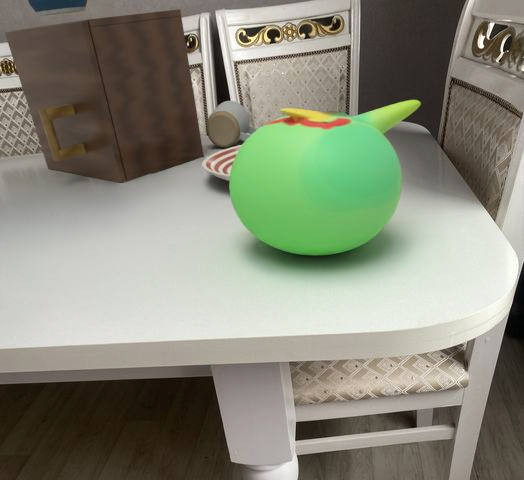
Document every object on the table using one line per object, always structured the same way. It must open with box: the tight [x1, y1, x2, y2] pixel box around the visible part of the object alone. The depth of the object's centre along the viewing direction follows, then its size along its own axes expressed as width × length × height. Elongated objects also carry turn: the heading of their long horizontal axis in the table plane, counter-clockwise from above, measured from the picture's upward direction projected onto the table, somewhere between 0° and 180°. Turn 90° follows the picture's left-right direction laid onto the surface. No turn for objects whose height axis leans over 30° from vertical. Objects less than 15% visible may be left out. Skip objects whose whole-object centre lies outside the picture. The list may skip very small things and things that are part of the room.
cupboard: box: [11, 8, 205, 182], centre depth 98 cm, size 18×26×24 cm
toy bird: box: [228, 99, 422, 256], centre depth 54 cm, size 18×17×15 cm
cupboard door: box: [4, 20, 127, 184], centre depth 90 cm, size 7×26×24 cm, turn 48°
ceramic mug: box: [205, 100, 258, 149], centre depth 105 cm, size 11×8×8 cm
